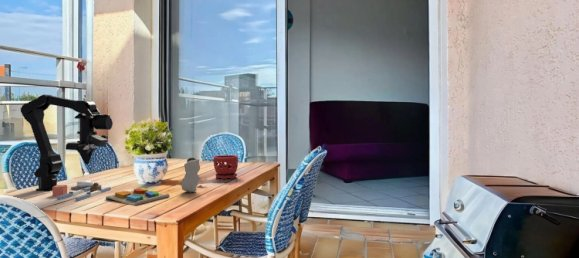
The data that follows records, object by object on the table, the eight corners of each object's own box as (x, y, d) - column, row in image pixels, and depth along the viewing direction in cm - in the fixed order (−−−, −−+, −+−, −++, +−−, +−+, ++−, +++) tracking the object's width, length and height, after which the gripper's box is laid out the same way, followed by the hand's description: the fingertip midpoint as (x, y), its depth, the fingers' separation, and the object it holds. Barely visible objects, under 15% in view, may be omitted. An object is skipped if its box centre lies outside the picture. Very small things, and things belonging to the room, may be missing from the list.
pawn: (87, 192, 164) (87, 183, 164) (94, 190, 168) (94, 181, 168) (96, 192, 163) (96, 183, 163) (103, 190, 168) (103, 181, 167)
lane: (57, 199, 150) (56, 195, 150) (91, 188, 170) (91, 185, 170) (78, 200, 148) (78, 196, 148) (110, 189, 169) (110, 186, 169)
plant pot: (241, 176, 208) (241, 154, 207) (232, 180, 195) (232, 157, 194) (219, 175, 211) (219, 153, 210) (209, 179, 198) (209, 156, 197)
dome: (73, 187, 170) (73, 182, 170) (83, 184, 176) (83, 180, 176) (86, 188, 169) (86, 183, 169) (96, 185, 175) (95, 180, 175)
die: (52, 196, 156) (52, 186, 155) (57, 194, 159) (57, 184, 159) (62, 196, 156) (62, 186, 156) (67, 194, 160) (67, 184, 160)
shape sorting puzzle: (136, 207, 142) (135, 198, 142) (104, 200, 151) (104, 192, 151) (171, 198, 157) (171, 190, 157) (140, 192, 166) (140, 185, 166)
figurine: (204, 190, 170) (204, 157, 169) (190, 195, 161) (190, 160, 160) (189, 188, 173) (189, 156, 173) (174, 193, 164) (174, 159, 164)
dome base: (71, 189, 169) (70, 187, 169) (83, 185, 177) (82, 183, 177) (87, 190, 168) (87, 188, 168) (98, 186, 176) (98, 184, 176)
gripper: (88, 130, 155) (88, 168, 156) (116, 128, 174) (116, 162, 175) (64, 129, 157) (64, 166, 158) (95, 128, 176) (95, 161, 177)
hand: (86, 164), depth 167 cm, fingers closed
